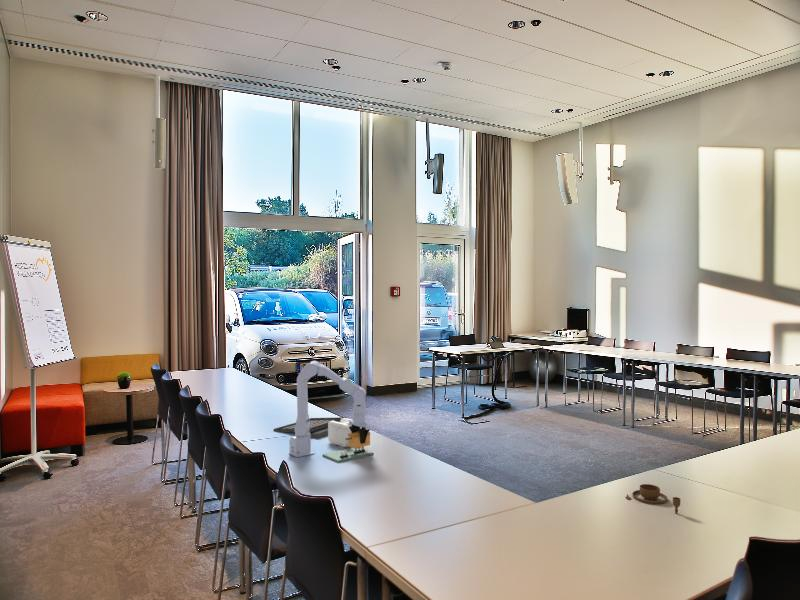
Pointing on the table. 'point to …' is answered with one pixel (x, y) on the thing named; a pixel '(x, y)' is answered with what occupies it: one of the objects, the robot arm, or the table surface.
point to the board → (336, 455)
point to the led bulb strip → (359, 450)
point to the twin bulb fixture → (344, 455)
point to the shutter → (312, 426)
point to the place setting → (653, 495)
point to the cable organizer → (339, 432)
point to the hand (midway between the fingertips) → (359, 442)
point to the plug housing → (357, 440)
